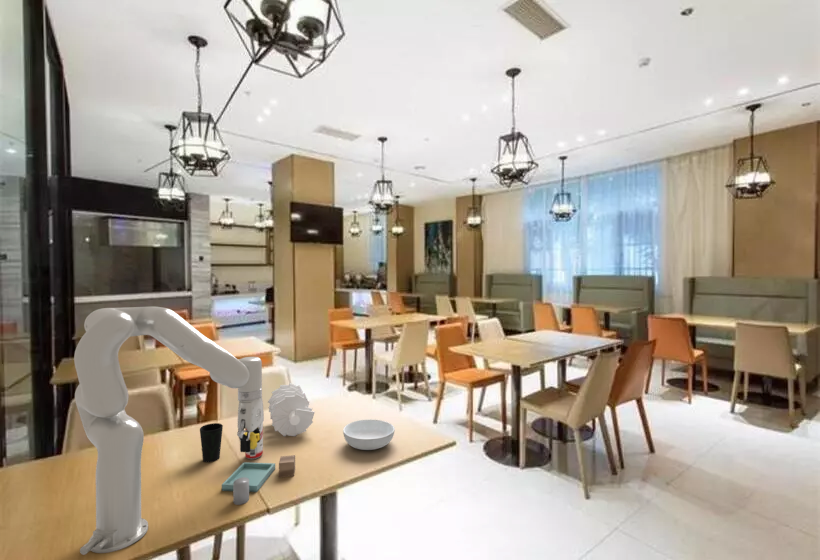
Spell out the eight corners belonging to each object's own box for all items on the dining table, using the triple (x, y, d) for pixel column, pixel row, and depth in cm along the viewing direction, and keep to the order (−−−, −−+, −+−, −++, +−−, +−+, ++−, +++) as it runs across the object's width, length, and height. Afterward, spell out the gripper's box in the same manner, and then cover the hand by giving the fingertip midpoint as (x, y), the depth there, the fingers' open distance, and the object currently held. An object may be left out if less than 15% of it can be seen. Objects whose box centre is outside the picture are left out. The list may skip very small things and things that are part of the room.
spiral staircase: (283, 450, 162) (276, 425, 184) (322, 426, 168) (310, 405, 190) (263, 414, 157) (259, 393, 180) (304, 391, 163) (294, 374, 186)
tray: (257, 492, 123) (257, 485, 123) (221, 490, 124) (221, 484, 124) (275, 468, 138) (275, 463, 138) (243, 467, 139) (243, 462, 139)
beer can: (243, 461, 143) (244, 418, 143) (246, 453, 149) (246, 412, 149) (262, 459, 145) (262, 416, 145) (263, 451, 151) (263, 411, 151)
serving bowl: (401, 451, 152) (401, 434, 152) (349, 460, 145) (349, 442, 144) (385, 431, 172) (385, 416, 171) (338, 438, 164) (338, 422, 164)
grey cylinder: (244, 505, 117) (244, 485, 116) (230, 504, 117) (230, 484, 117) (251, 496, 121) (251, 477, 121) (237, 496, 121) (237, 477, 121)
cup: (213, 464, 141) (213, 432, 140) (194, 462, 142) (194, 430, 142) (227, 455, 148) (227, 424, 148) (209, 453, 150) (209, 422, 149)
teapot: (263, 450, 130) (262, 434, 130) (244, 454, 126) (244, 439, 126) (256, 441, 136) (256, 427, 136) (238, 445, 133) (238, 431, 133)
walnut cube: (294, 476, 133) (294, 461, 133) (278, 477, 132) (278, 463, 132) (295, 468, 138) (295, 455, 138) (280, 470, 137) (280, 456, 137)
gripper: (248, 403, 122) (249, 459, 122) (271, 386, 139) (271, 436, 139) (225, 402, 122) (226, 459, 122) (251, 386, 139) (251, 435, 140)
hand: (250, 446), depth 131 cm, fingers closed on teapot, 6 cm apart
